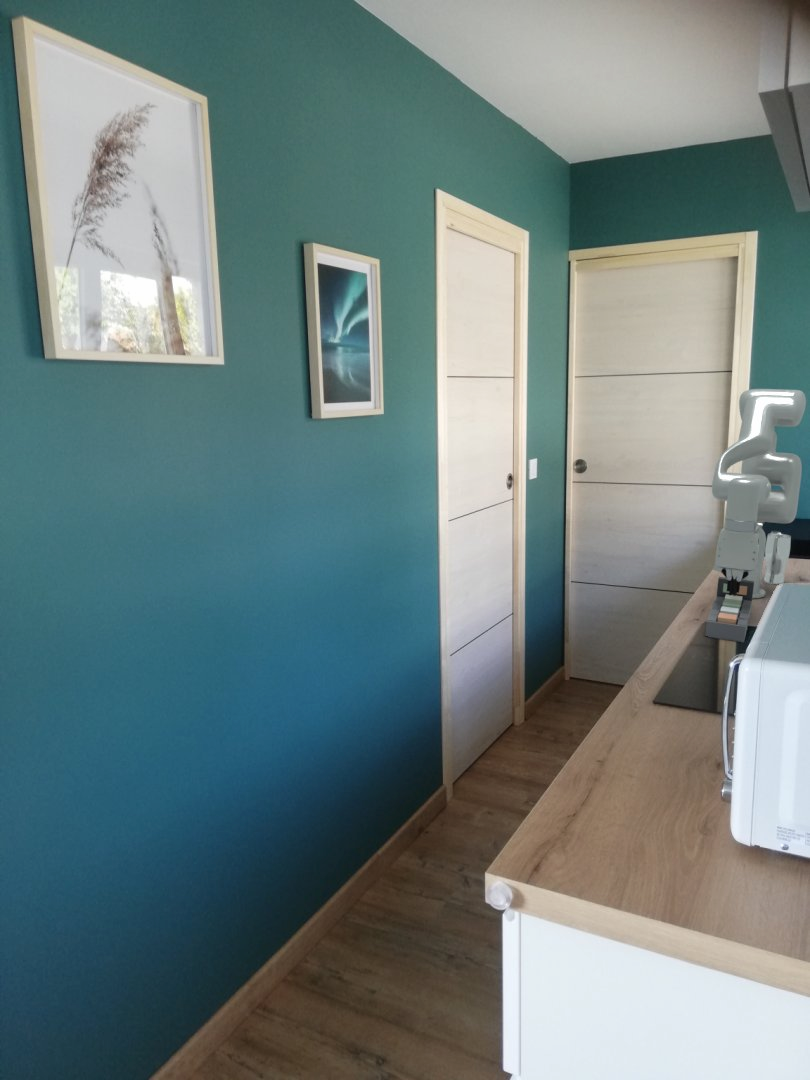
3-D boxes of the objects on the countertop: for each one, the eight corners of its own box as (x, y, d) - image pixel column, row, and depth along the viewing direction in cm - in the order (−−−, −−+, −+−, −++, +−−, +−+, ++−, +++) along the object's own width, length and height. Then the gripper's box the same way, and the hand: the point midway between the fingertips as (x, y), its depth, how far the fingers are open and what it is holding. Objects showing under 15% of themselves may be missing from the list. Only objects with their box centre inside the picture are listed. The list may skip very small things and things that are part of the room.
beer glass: (788, 586, 248) (794, 538, 244) (764, 584, 249) (769, 537, 246) (782, 580, 254) (788, 534, 251) (759, 578, 256) (764, 532, 252)
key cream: (725, 599, 220) (725, 594, 219) (741, 602, 218) (742, 596, 217) (723, 603, 216) (724, 598, 215) (740, 606, 214) (741, 600, 214)
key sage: (723, 605, 214) (723, 600, 214) (740, 608, 212) (740, 602, 212) (721, 610, 210) (722, 604, 210) (739, 612, 209) (739, 606, 208)
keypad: (715, 608, 224) (719, 576, 222) (750, 612, 220) (754, 581, 218) (705, 636, 200) (708, 601, 198) (743, 642, 196) (747, 607, 194)
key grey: (721, 612, 209) (721, 606, 208) (738, 614, 207) (739, 608, 206) (719, 616, 205) (720, 610, 205) (737, 618, 203) (737, 612, 203)
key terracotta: (718, 618, 203) (719, 612, 203) (736, 621, 201) (737, 615, 201) (717, 623, 200) (717, 617, 199) (735, 625, 198) (736, 619, 197)
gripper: (772, 526, 207) (764, 595, 210) (710, 520, 213) (704, 587, 217) (771, 531, 200) (762, 602, 204) (707, 525, 206) (700, 594, 210)
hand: (732, 594), depth 210 cm, fingers closed
